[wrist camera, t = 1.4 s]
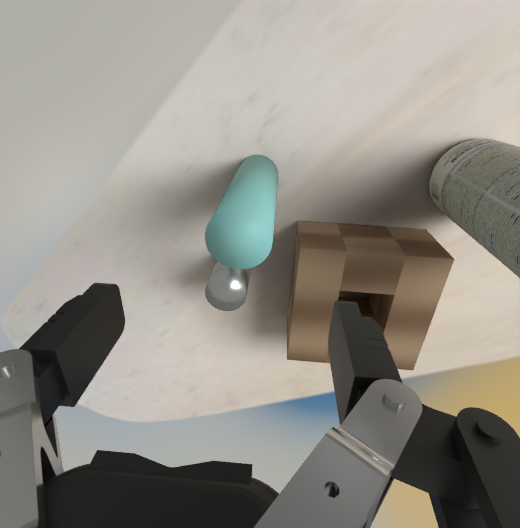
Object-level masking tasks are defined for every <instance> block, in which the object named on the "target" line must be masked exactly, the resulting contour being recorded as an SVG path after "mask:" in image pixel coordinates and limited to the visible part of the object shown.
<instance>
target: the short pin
mask: <svg viewBox="0 0 520 528" xmlns="http://www.w3.org/2000/svg"><path fill="white" fill-rule="evenodd" d="M250 273H251V268H249V269H233V268H229V267H226V266H224V265H222V264H221V263H219V262H218V261H216V263H215V266H214V268H213V271H212V273H211V276H210V278H209V281H208V283H207V286H206V289H205V295H206V298H207V300H208V302H209V303H210V304H211V305H212V306H214V307H215V308H217V309H220V310H223V311H232V310H235V309H238V308H239V307H241V306H242V305H243V303H244V302H245V299H246V294H247V289H248V284H249V278H250Z"/></svg>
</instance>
